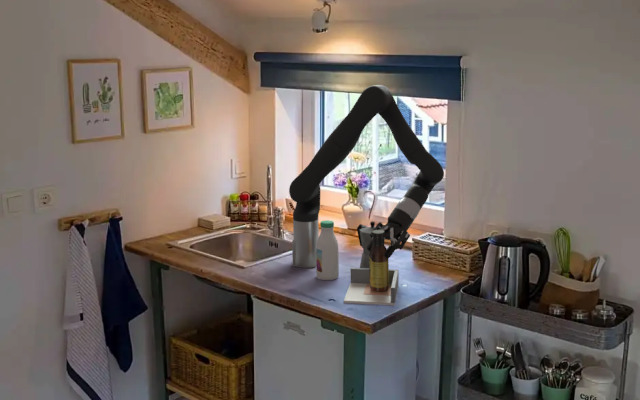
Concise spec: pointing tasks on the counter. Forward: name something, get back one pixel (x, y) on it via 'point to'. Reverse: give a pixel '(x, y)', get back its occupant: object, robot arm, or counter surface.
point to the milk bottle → (327, 252)
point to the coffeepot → (365, 242)
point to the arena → (362, 292)
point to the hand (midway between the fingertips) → (377, 253)
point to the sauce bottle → (378, 263)
